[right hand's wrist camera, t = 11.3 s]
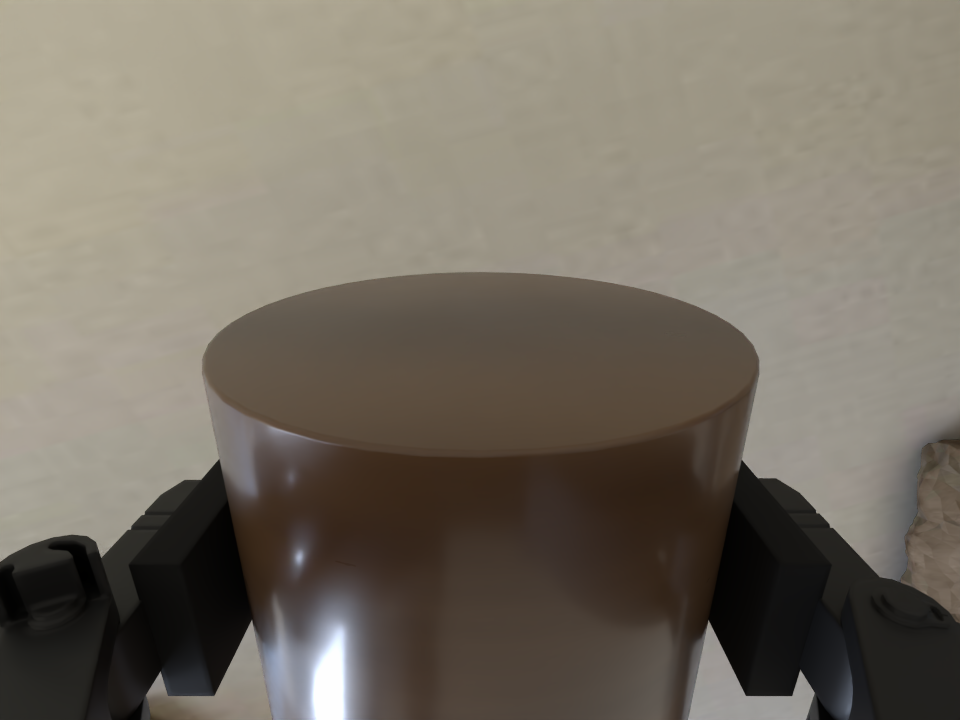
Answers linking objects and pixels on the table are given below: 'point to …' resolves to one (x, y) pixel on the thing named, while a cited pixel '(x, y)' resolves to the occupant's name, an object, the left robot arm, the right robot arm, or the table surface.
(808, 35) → the table surface
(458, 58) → the table surface
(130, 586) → the right robot arm
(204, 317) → the table surface
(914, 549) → the stone
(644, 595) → the rod
